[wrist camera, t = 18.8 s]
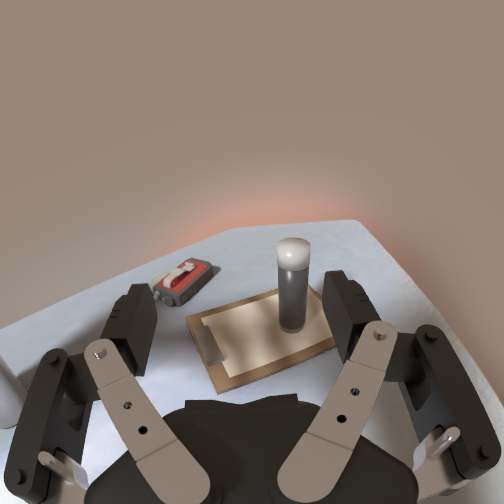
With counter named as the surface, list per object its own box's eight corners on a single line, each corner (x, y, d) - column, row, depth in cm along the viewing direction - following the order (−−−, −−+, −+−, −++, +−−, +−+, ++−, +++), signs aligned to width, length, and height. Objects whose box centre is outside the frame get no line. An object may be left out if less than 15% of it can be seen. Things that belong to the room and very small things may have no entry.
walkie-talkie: (185, 264, 63) (119, 319, 48) (181, 246, 61) (111, 299, 46) (219, 273, 60) (153, 336, 44) (216, 254, 58) (146, 315, 42)
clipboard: (217, 394, 34) (215, 387, 33) (185, 319, 47) (183, 312, 46) (358, 335, 41) (360, 327, 40) (302, 282, 54) (303, 275, 53)
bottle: (286, 338, 41) (287, 256, 35) (273, 321, 45) (270, 242, 38) (311, 328, 43) (317, 248, 36) (296, 312, 46) (298, 235, 39)
